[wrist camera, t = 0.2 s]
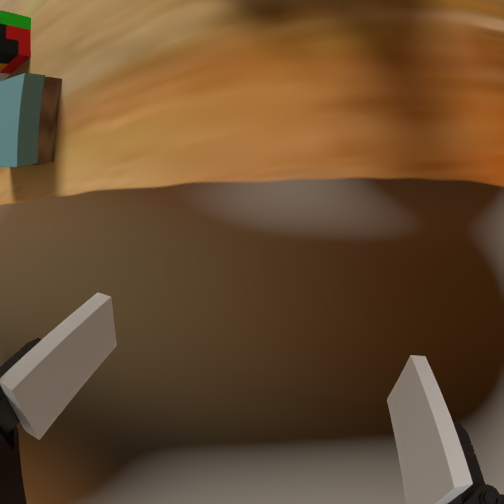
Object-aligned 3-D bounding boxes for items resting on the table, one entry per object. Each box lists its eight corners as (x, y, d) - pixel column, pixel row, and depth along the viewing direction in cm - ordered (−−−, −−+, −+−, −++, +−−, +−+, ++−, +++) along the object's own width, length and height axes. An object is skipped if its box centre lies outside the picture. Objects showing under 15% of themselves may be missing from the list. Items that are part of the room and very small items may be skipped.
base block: (16, 89, 38) (0, 89, 34) (63, 79, 36) (45, 76, 32) (11, 160, 43) (-6, 163, 38) (55, 161, 41) (37, 164, 37)
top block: (-1, 88, 33) (-19, 88, 29) (45, 75, 32) (24, 73, 28) (-6, 163, 38) (-24, 167, 34) (37, 163, 37) (17, 167, 33)
